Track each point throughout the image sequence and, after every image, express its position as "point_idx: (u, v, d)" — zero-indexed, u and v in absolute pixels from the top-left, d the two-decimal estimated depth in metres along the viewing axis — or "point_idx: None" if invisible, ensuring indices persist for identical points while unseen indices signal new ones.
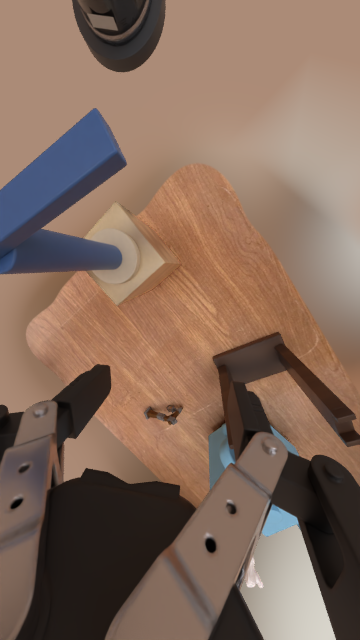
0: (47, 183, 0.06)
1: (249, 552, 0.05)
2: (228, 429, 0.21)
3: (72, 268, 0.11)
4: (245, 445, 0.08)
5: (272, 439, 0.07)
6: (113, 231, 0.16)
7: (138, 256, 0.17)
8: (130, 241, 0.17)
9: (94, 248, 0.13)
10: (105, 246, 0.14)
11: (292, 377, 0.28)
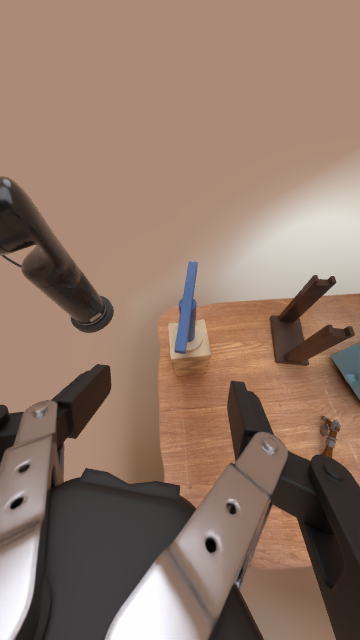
0: (192, 274, 0.24)
1: (249, 552, 0.05)
2: (322, 336, 0.30)
3: (195, 318, 0.26)
4: (245, 445, 0.08)
5: (272, 439, 0.07)
6: None
7: (195, 326, 0.33)
8: None
9: None
10: None
11: (302, 313, 0.43)
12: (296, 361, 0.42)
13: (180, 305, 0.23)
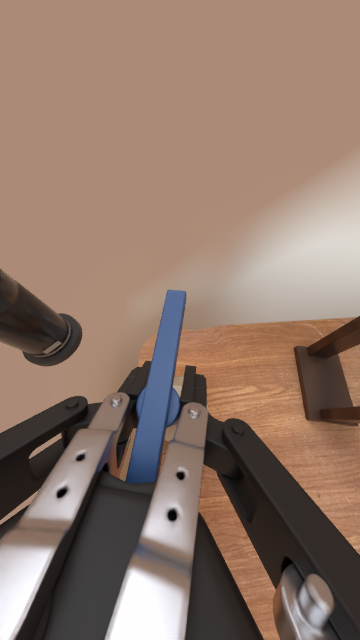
0: (172, 324, 0.10)
1: None
2: None
3: None
4: None
5: (195, 406, 0.08)
6: None
7: None
8: (174, 386, 0.19)
9: None
10: None
11: None
12: (340, 422, 0.28)
13: (139, 409, 0.09)
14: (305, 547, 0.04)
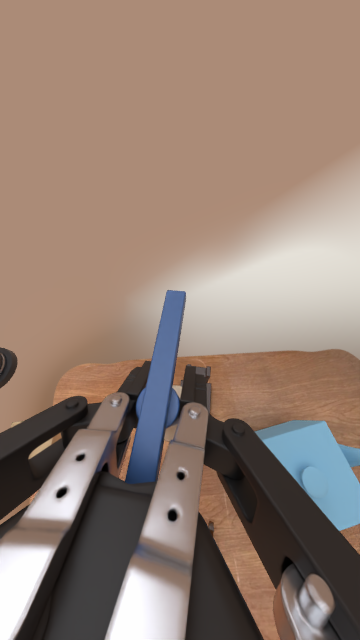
0: (172, 325, 0.10)
1: None
2: None
3: None
4: None
5: (195, 406, 0.08)
6: None
7: None
8: (174, 386, 0.19)
9: None
10: None
11: None
12: None
13: (139, 409, 0.09)
14: (305, 547, 0.04)
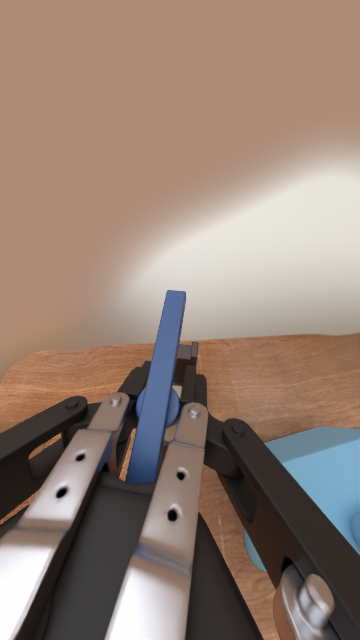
0: (172, 325, 0.10)
1: None
2: None
3: None
4: None
5: (195, 406, 0.08)
6: None
7: None
8: (174, 386, 0.19)
9: None
10: None
11: None
12: None
13: (139, 409, 0.09)
14: (305, 547, 0.04)
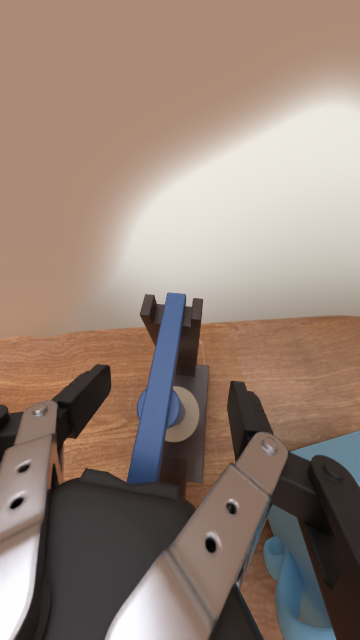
0: (172, 327, 0.10)
1: (249, 552, 0.05)
2: None
3: None
4: (245, 445, 0.08)
5: (272, 439, 0.07)
6: None
7: (187, 390, 0.19)
8: (174, 387, 0.19)
9: None
10: None
11: (194, 368, 0.20)
12: None
13: (140, 410, 0.09)
14: None
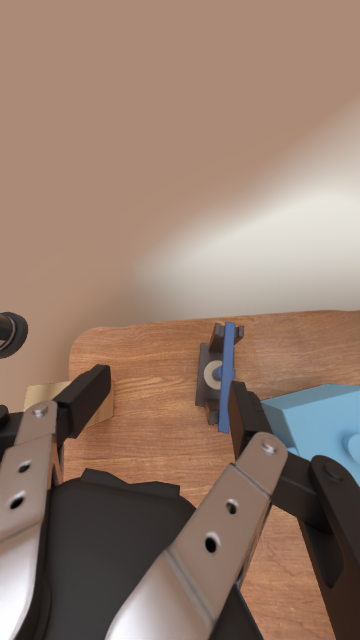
0: (230, 340, 0.23)
1: (249, 552, 0.05)
2: (207, 418, 0.22)
3: None
4: (245, 445, 0.08)
5: (272, 439, 0.07)
6: (208, 365, 0.33)
7: None
8: (217, 361, 0.33)
9: None
10: None
11: None
12: None
13: (219, 374, 0.23)
14: None
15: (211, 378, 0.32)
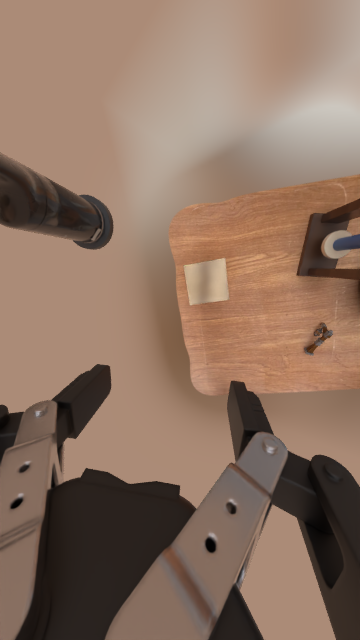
0: None
1: (249, 552, 0.05)
2: (357, 277, 0.27)
3: None
4: (245, 445, 0.08)
5: (272, 439, 0.07)
6: (331, 236, 0.34)
7: (347, 232, 0.34)
8: (341, 230, 0.34)
9: None
10: (349, 236, 0.32)
11: (356, 217, 0.33)
12: (319, 276, 0.40)
13: None
14: None
15: (331, 248, 0.35)
